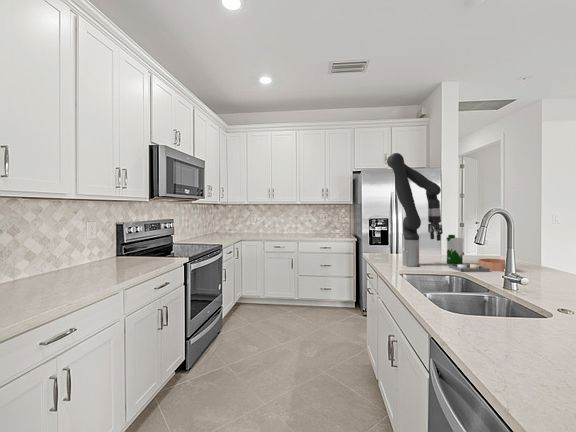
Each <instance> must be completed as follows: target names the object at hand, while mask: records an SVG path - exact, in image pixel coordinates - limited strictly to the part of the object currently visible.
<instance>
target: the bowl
mask: <svg viewBox="0 0 576 432" xmlns="http://www.w3.org/2000/svg"><path fill="white" fill-rule="evenodd" d="M505 260H506V259H500V258H479V259H477V265H479V266H482V267H485V268H488V269H490V272H503V273H505V272H504V269H505Z"/></svg>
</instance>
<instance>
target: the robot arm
mask: <svg viewBox="0 0 576 432" xmlns="http://www.w3.org/2000/svg"><path fill="white" fill-rule="evenodd" d="M386 164H387V165H388V167H390V169H392V171H393V175H394V181H395V182H394V186H395V191H396V196H397V199H398V201H399V203H400V204H401V206H402V207H403V208H402V209H403V210H404V212H405V217H404V218H403V221H402V234H403V238H404V239H403V240H404V241H403V250H402V265H403V266H405V267H412V268H413V267H419V266H420V236H419V233H418V229H420V227H421V224H422V220H421V218H420V215H419V212H418V210H417V208H416V203H415V200H414V195H413V192H412V187H411V185H410V181H411V182H413V183H414V184H415V185H416V186H418V187H419V188H421V189H424V190H425V195H426V200H427V217H428V218H427V223H428V224H427V227H428V229H427V231H428V233H429V237H430V240H435V233H436V241H437V242H438V241H441V239H442V237H441V236H442V234H443V225H442V224H440V223H441V222H442V216H441V215H442V214H441V212H442V211H441V203H440V200H439V199H438V196H439V194H440V193H441V189H442V188H441V187H440V186H439V185H438V184H437V183H435V182H434V181H432V180H430V179H429V178H427V177H426V176H425V175H423V174H422V173H421V172H419V171H417V170H415V169H413V168H412V167H410V166H408V165H407V164H406V163H405V159H404V157H403V155H402V154H401V153H398V152H396V153H392V154H391V155H388V157H387V159H386ZM409 180H410V181H409Z"/></svg>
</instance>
